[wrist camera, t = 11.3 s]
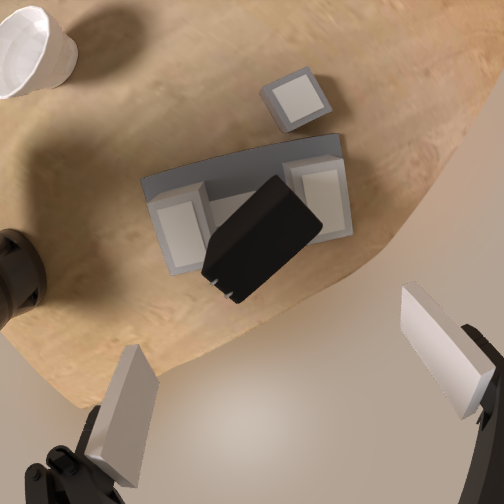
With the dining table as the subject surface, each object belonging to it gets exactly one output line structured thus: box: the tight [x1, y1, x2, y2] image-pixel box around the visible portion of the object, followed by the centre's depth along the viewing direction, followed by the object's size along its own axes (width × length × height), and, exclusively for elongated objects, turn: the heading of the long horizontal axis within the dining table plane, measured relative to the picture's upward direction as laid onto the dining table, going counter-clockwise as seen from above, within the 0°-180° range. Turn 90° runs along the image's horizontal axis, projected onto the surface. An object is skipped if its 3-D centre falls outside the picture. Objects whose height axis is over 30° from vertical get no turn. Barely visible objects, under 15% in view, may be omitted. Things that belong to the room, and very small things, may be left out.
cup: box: [0, 5, 78, 99], centre depth 25 cm, size 12×12×11 cm
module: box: [259, 66, 333, 133], centre depth 33 cm, size 6×6×5 cm
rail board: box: [140, 133, 353, 276], centre depth 36 cm, size 26×14×8 cm, turn 103°
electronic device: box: [201, 175, 323, 304], centre depth 28 cm, size 4×10×10 cm, turn 134°
